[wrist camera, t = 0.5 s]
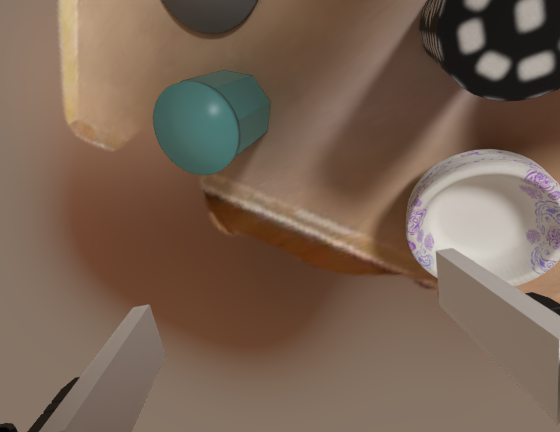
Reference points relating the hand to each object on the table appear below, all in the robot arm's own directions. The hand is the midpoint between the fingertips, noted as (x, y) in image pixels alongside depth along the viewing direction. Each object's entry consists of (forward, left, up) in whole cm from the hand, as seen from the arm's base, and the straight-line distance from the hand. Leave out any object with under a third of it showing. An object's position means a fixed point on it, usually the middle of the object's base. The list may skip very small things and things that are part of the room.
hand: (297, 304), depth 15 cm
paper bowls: (+11, +11, -31) cm, 35 cm away
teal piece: (-6, -16, -31) cm, 35 cm away
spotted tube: (-9, +11, -31) cm, 34 cm away
